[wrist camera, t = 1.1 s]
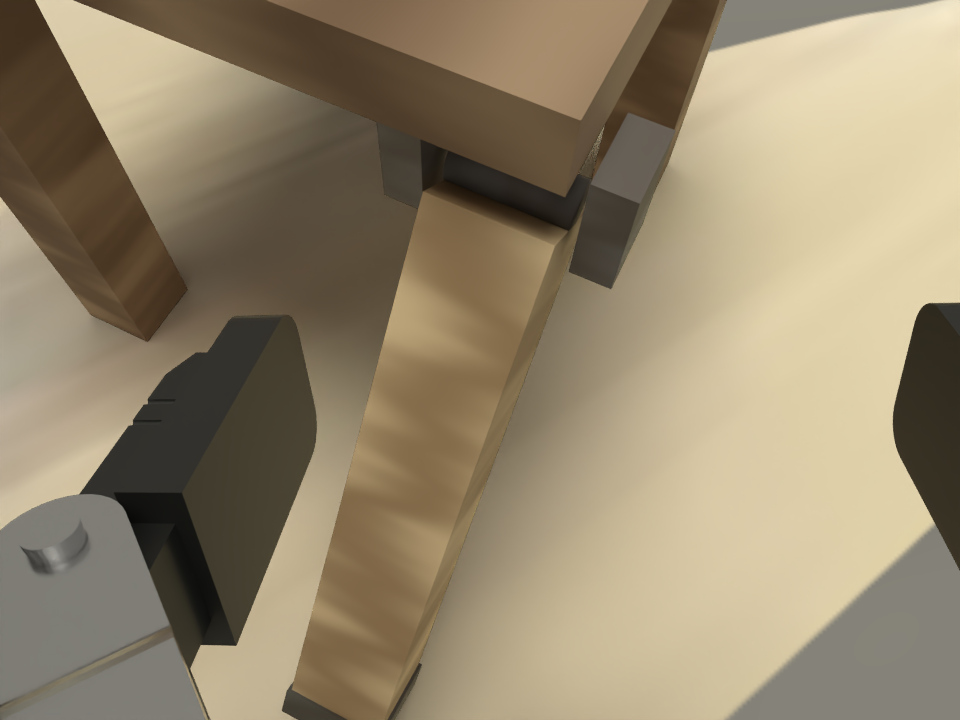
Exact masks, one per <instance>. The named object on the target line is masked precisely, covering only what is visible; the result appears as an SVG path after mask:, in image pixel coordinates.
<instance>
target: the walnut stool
mask: <svg viewBox="0 0 960 720" xmlns="http://www.w3.org/2000/svg"><path fill="white" fill-rule="evenodd" d="M74 1H77V2H79V3H82V4H84V5H87V6H89V7H92V8H94V9H97V10H99V11H102V12H104V13H107V14H109V15H112V16H114V17H117V18H119V19H122V20H124V21H127V22H129V23H132V24H134V25H137V26H139V27H141V28H144V29H146V30H149V31H151V32H154V33H156V34H159V35H161V36H164V37H166V38H169V39H171V40H174V41H176V42H179V43H181V44H184V45H186V46H189V47H191V48H194V49H196V50H199V51H201V52H204V53H206V54H209V55H211V56H214V57H216V58H219V59H221V60H224V61H226V62H229V63H231V64H234V65H236V66H239V67H241V68H244V69H246V70H249V71H251V72H254V73H256V74H259V75H261V76H264V77H266V78H269V79H271V80H274V81H276V82H279V83H281V84H284V85H286V86H289V87H291V88H294V89H296V90H299V91H301V92H304V93H306V94H309V95H311V96H314V97H316V98H319V99H321V100H324V101H326V102H329V103H331V104H334V105H336V106H339V107H341V108H344V109H346V110H349V111H351V112H354V113H356V114H359V115H361V116H364V117H366V118H369V119H371V120H374V121H376V122H377V130H378V139H379V149H380V158H381V168H382V177H383V187H384V195H386V196H389V197H391V198H393V199H396V200H398V201H401V202H403V203H405V204H408V205H410V206H413V207H415V208H417V209H418V208H419V204H420V201H421V197H422V193H423V191H425V190H426V189H428V188H430V187H432V186H434V185H435V184H437V183H439V182H441V181H442V180H443V168H444V163H445V159H446V156H447V153H448V151H451V152H453V153H456V154H458V155H461V156H463V157H466V158H468V159H471V160H473V161H476V162H478V163H481V164H483V165H486V166H488V167H491V168H493V169H496V170H498V171H501V172H503V173H506V174H508V175H511V176H513V177H516V178H518V179H521V180H523V181H526V182H528V183H531V184H533V185H536V186H538V187H541V188H543V189H546V190H548V191H551V192H553V193H556V194H558V195H561V196H563V197H566V195H567V193H568V191H569V189H570V187H571V186H572V184H573V182H574V180H575V178H576V176H577V175H578V173H579V171H580V169H581V167H582V165H583V164H584V162H585V160H586V158H587V156H588V154H589V152H590V151H591V149H592V147H593V145H594V143H595V141H596V140H597V138H598V136H599V134H600V132H601V130H602V129H603V127H604V125H605V127H604V131H603V135H602V139H601V143H600V147H599V152H598V156H597V160H596V164H595V168H594V172H593V176H592V182H591V184H590V187H589V191H588V195H587V199H586V204H585V208H584V212H583V216H582V220H581V224H580V228H579V232H578V236H577V241H576V245H575V249H574V253H573V257H572V261H571V265H570V269H569V272H571V273H573V274H576V275H578V276H581V277H583V278H585V279H588V280H590V281H593V282H595V283H597V284H600V285H602V286H605V287H607V288H609V289H611V288H612V286H613V284H614V282H615V280H616V278H617V276H618V274H619V272H620V270H621V268H622V265H623V263H624V261H625V259H626V257H627V255H628V253H629V251H630V249H631V247H632V245H633V243H634V240H635V238H636V236H637V234H638V232H639V230H640V228H641V226H642V224H643V221H644V219H645V216H646V213H647V210H648V207H649V205H650V202H651V199H652V196H653V193H654V191H655V189H656V187H657V185H658V183H659V181H660V179H661V177H662V175H663V172H664V170H665V168H666V166H667V164H668V162H669V159H670V156H671V154H672V151H673V148H674V145H675V143H676V140H677V137H678V134H679V131H680V129H681V126H682V123H683V120H684V118H685V115H686V112H687V109H688V107H689V104H690V101H691V98H692V95H693V93H694V90H695V87H696V84H697V82H698V79H699V76H700V73H701V71H702V68H703V65H704V62H705V59H706V57H707V54H708V51H709V48H710V45H711V43H712V40H713V37H714V35H715V32H716V29H717V26H718V23H719V21H720V18H721V15H722V12H723V10H724V7H725V4H726V1H727V0H74ZM0 197H1V198H2V199H3V201H4V202H5V203H6V205H7V206H8V207H9V209H10V210H11V211H12V213H13V214H14V215H15V216H16V218H17V219H18V220H19V222H20V223H21V224H22V226H23V227H24V228H25V230H26V231H27V232H28V233H29V235H30V236H31V237H32V239H33V240H34V241H35V243H36V244H37V245H38V246H39V248H40V249H41V250H42V252H43V253H44V254H45V256H46V257H47V258H48V260H49V261H50V262H51V263H52V265H53V266H54V267H55V269H56V270H57V271H58V273H59V274H60V275H61V276H62V278H63V279H64V280H65V282H66V283H67V284H68V286H69V287H70V288H71V290H72V291H73V292H74V293H75V295H76V296H77V297H78V299H79V300H80V301H81V303H82V304H83V305H84V307H85V308H86V309H87V310H88V312H89V313H90V314H91V315H92V316H95V317H97V318H99V319H101V320H103V321H105V322H107V323H109V324H111V325H114V326H116V327H118V328H120V329H122V330H124V331H126V332H128V333H130V334H132V335H135V336H137V337H139V338H141V339H143V340H145V341H147V342H148V340H149V339H150V338H151V336H152V335H153V334H154V332H155V331H156V330H157V328H158V327H159V326H160V325H161V323H162V322H163V321H164V319H165V318H166V317H167V315H168V314H169V313H170V311H171V310H172V309H173V308H174V306H175V305H176V304H177V302H178V301H179V300H180V298H181V297H182V296H183V294H184V293H185V292H186V290H187V287H186V285H185V284H184V282H183V280H182V278H181V276H180V274H179V272H178V270H177V268H176V266H175V265H174V263H173V261H172V259H171V257H170V255H169V253H168V251H167V249H166V248H165V246H164V244H163V242H162V240H161V238H160V236H159V234H158V232H157V231H156V229H155V227H154V225H153V223H152V221H151V219H150V217H149V215H148V213H147V212H146V210H145V208H144V206H143V204H142V202H141V200H140V198H139V196H138V195H137V193H136V191H135V189H134V187H133V185H132V183H131V181H130V179H129V178H128V176H127V174H126V172H125V170H124V168H123V166H122V164H121V162H120V160H119V159H118V157H117V155H116V153H115V151H114V149H113V147H112V145H111V143H110V142H109V140H108V138H107V136H106V134H105V132H104V130H103V128H102V126H101V124H100V123H99V121H98V119H97V117H96V115H95V113H94V111H93V109H92V107H91V106H90V104H89V102H88V100H87V98H86V96H85V94H84V92H83V90H82V89H81V87H80V85H79V83H78V81H77V79H76V77H75V75H74V73H73V71H72V70H71V68H70V66H69V64H68V62H67V60H66V58H65V56H64V54H63V53H62V51H61V49H60V47H59V45H58V43H57V41H56V39H55V37H54V36H53V34H52V32H51V30H50V28H49V26H48V24H47V22H46V20H45V18H44V17H43V15H42V13H41V11H40V9H39V7H38V5H37V3H36V1H35V0H0Z"/></svg>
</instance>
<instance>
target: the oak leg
mask: <svg viewBox="0 0 960 720" xmlns="http://www.w3.org/2000/svg"><path fill="white" fill-rule="evenodd" d="M443 179H444V180H442V181H441V182H439V183H437V184H435V185H434V186H432V187H430V188H428V189H426V190H425V191H423V193H422V197H421V201H420V204H419V208H418V212H417V216H416V220H415V223H414V227H413V231H412V235H411V239H410V242H409V246H408V250H407V254H406V258H405V261H404V265H403V269H402V273H401V277H400V280H399V284H398V288H397V292H396V295H395V299H394V303H393V307H392V311H391V314H390V318H389V322H388V326H387V330H386V333H385V337H384V341H383V345H382V349H381V352H380V356H379V360H378V364H377V368H376V371H375V375H374V379H373V383H372V387H371V390H370V394H369V398H368V402H367V406H366V409H365V413H364V417H363V421H362V425H361V428H360V432H359V436H358V440H357V444H356V447H355V451H354V455H353V459H352V462H351V466H350V470H349V474H348V478H347V481H346V485H345V489H344V493H343V497H342V500H341V504H340V508H339V512H338V516H337V519H336V523H335V527H334V531H333V535H332V538H331V542H330V546H329V550H328V554H327V557H326V561H325V565H324V569H323V573H322V576H321V580H320V584H319V588H318V592H317V595H316V599H315V603H314V607H313V611H312V614H311V618H310V622H309V626H308V629H307V633H306V637H305V641H304V645H303V648H302V652H301V656H300V660H299V664H298V667H297V671H296V675H295V679H294V682H293V683H292V684H291V686H290V687H289V689H288V690H287V693H286V697H285V700H284V704H283V708H282V711H283V712H285V713H287V714H289V715H290V716H292V717H294V718H296V719H298V720H395V719H396V717H397V715H398V713H399V711H400V709H401V708H402V706H403V704H404V702H405V700H406V699H407V697H408V695H409V693H410V691H411V689H412V688H413V686H414V684H415V681H416V679H417V676H418V674H419V671H420V668H421V666H422V664H420V663H419V661H420V659H421V656H422V653H423V651H424V648H425V645H426V643H427V640H428V637H429V634H430V632H431V629H432V626H433V624H434V621H435V618H436V616H437V613H438V610H439V608H440V605H441V602H442V600H443V597H444V594H445V592H446V589H447V586H448V584H449V581H450V578H451V576H452V573H453V570H454V567H455V565H456V562H457V559H458V557H459V554H460V551H461V549H462V546H463V543H464V541H465V538H466V535H467V533H468V530H469V527H470V525H471V522H472V519H473V517H474V514H475V511H476V509H477V506H478V503H479V500H480V498H481V495H482V492H483V490H484V487H485V484H486V482H487V479H488V476H489V474H490V471H491V468H492V466H493V463H494V460H495V458H496V455H497V452H498V450H499V447H500V444H501V442H502V439H503V436H504V433H505V431H506V428H507V425H508V423H509V420H510V417H511V415H512V412H513V409H514V407H515V404H516V401H517V399H518V396H519V393H520V391H521V388H522V385H523V383H524V380H525V377H526V375H527V372H528V369H529V366H530V364H531V361H532V358H533V356H534V353H535V350H536V348H537V345H538V342H539V340H540V337H541V334H542V332H543V329H544V326H545V324H546V321H547V318H548V316H549V313H550V310H551V308H552V305H553V302H554V299H555V297H556V294H557V291H558V289H559V286H560V283H561V281H562V278H563V275H564V273H565V270H566V267H567V265H568V262H569V259H570V257H571V254H572V251H573V249H574V246H575V243H576V241H577V236H578V232H579V228H580V224H581V220H582V216H583V212H584V209H583V207H584V205H585V202H586V199H587V195H588V191H589V187H590V184H591V182H592V180H591V179H590V178H587V177H585V176H582V175H580V174H578V175H577V176H576V178H575V180H574V182H573V184H572V186H571V187H570V189H569V191H568V193H567V195H566V197H563V196H561V195H558V194H556V193H553V192H551V191H548V190H546V189H543V188H541V187H538V186H536V185H533V184H531V183H528V182H526V181H523V180H521V179H518V178H516V177H513V176H511V175H508V174H506V173H503V172H501V171H498V170H496V169H493V168H491V167H488V166H486V165H483V164H481V163H478V162H476V161H473V160H471V159H468V158H466V157H463V156H461V155H458V154H456V153H453V152H451V151H448V153H447V156H446V159H445V163H444V168H443Z"/></svg>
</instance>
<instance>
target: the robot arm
mask: <svg viewBox="0 0 960 720" xmlns="http://www.w3.org/2000/svg"><path fill="white" fill-rule="evenodd" d="M316 432H317V421H316V410H315V405H314V401H313V396H312V392H311V387H310V383H309V378H308V374H307V369H306V365H305V360H304V356H303V351H302V347H301V342H300V338H299V333H298V330H297V327H296V324H295V322H294V320H293V319H292V317H290V316H289V315H260V316H234V317H232V318H231V319H230V320H229V321H228V323H227V324H226V326H225V327H224V329H223V330H222V332H221V333H220V335H219V336H218V338H217V339H216V341H215V342H214V344H213V345H212V347H211V348H210V350H209V351H208V352H207V353H195V354H194V355H192V356H191V357H189V358H188V359H187V360H185V361H184V362H182V363H181V364H180V365H178V366H177V367H175V368H174V369H173V370H171V371H170V372H168V373H167V374H166V375H165V376H164V378H163V379H162V380H161V382H160V383H159V385H158V386H157V387H156V389H155V390H154V391H153V393H152V394H151V396H150V397H149V398H148V404H144V405H143V407H142V408H141V409H140V411H139V412H138V414H137V415H136V416H135V418H134V419H133V425H130V426H128V428H127V429H126V430H125V432H124V433H123V434H122V436H121V437H120V439H119V440H118V441H117V443H116V444H115V446H114V447H113V448H112V450H111V451H110V452H109V454H108V455H107V457H106V458H105V459H104V461H103V462H102V464H101V465H100V466H99V468H98V469H97V471H96V472H95V473H94V475H93V476H92V477H91V479H90V480H89V482H88V483H87V484H86V486H85V487H84V489H83V490H82V491H81V493H80V494H79V495H73V496H67V497H63V498H59V499H55V500H52V501H49V502H46V503H44V504H41V505H39V506H37V507H35V508H32V509H31V510H29V511H27V512H25V513H23V514H22V515H20V516H19V517H17V518H16V519H14V520H13V521H11V522H10V523H9V524H7V525H6V526H5V527H4V528H2V529H1V530H0V720H210V717H209V715H208V712H207V710H206V707H205V705H204V702H203V700H202V697H201V695H200V692H199V690H198V687H197V684H196V682H195V679H194V677H193V675H192V672H191V670H190V668H191V665H192V663H193V661H194V659H195V656H196V654H197V652H198V650H199V647H200V645H229V646H236V645H237V643H238V640H239V638H240V635H241V633H242V630H243V628H244V625H245V623H246V620H247V618H248V615H249V613H250V610H251V608H252V605H253V603H254V600H255V598H256V595H257V593H258V590H259V588H260V585H261V583H262V580H263V578H264V575H265V573H266V570H267V568H268V565H269V563H270V560H271V558H272V555H273V553H274V550H275V548H276V545H277V543H278V540H279V538H280V535H281V532H282V530H283V527H284V525H285V522H286V520H287V517H288V515H289V512H290V510H291V507H292V505H293V502H294V500H295V497H296V495H297V492H298V490H299V487H300V485H301V482H302V480H303V477H304V475H305V472H306V470H307V467H308V465H309V462H310V460H311V457H312V454H313V452H314V447H315V442H316ZM893 432H894V439H895V444H896V448H897V451H898V453H899V456H900V458H901V460H902V461H903V463H904V465H905V467H906V469H907V471H908V473H909V475H910V477H911V479H912V480H913V482H914V484H915V486H916V488H917V490H918V492H919V494H920V496H921V498H922V499H923V501H924V503H925V505H926V507H927V509H928V511H929V513H930V515H931V517H932V518H933V520H934V522H935V524H936V526H937V528H938V529H939V532H940V533H941V535H942V537H943V539H944V541H945V543H946V545H947V547H948V549H949V551H950V552H951V554H952V556H953V558H954V560H955V562H956V564H957V566H958V568H959V570H960V303H929V304H926V305H924V306H923V307H922V308H921V310H920V311H919V313H918V315H917V317H916V320H915V324H914V328H913V332H912V336H911V340H910V344H909V348H908V352H907V356H906V360H905V364H904V368H903V372H902V377H901V381H900V385H899V389H898V393H897V397H896V401H895V405H894V412H893Z"/></svg>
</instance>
